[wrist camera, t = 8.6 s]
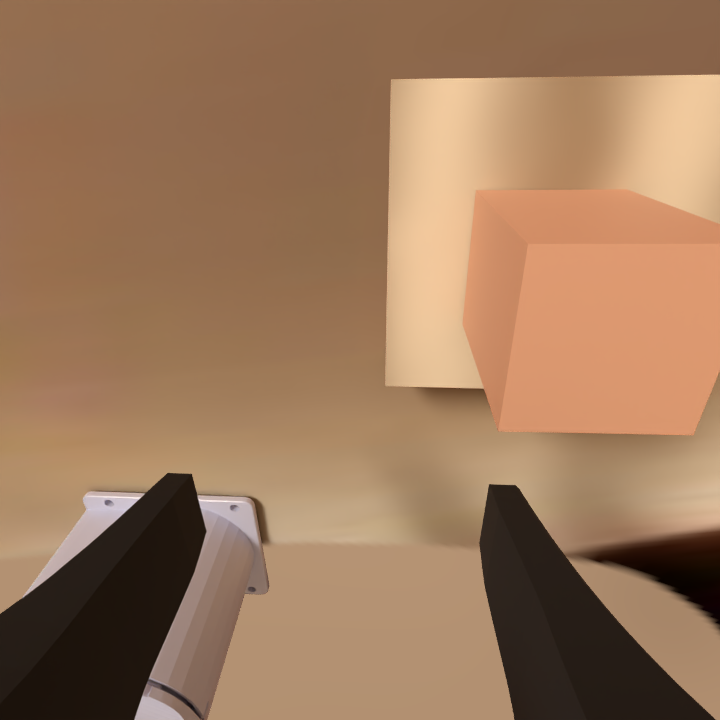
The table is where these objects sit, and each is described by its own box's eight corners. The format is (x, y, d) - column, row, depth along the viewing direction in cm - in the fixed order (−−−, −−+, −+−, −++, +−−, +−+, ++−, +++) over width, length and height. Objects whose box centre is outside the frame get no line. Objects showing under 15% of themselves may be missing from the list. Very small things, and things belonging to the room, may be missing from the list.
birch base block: (387, 342, 21) (385, 386, 18) (391, 80, 16) (391, 79, 13) (619, 347, 20) (658, 393, 17) (700, 76, 15) (775, 74, 12)
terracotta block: (462, 324, 16) (497, 431, 11) (475, 190, 14) (528, 244, 9) (593, 325, 16) (693, 435, 11) (626, 189, 14) (772, 243, 9)
